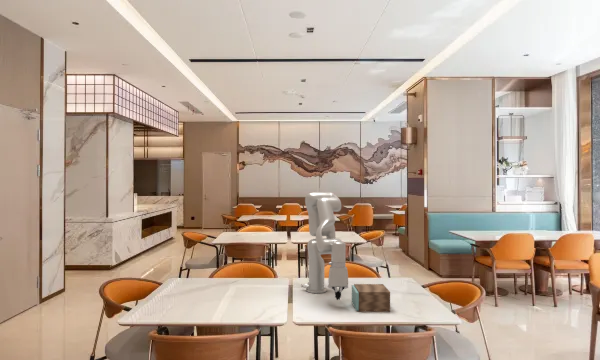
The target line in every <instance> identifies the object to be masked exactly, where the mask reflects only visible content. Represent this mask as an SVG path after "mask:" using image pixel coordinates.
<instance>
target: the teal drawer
mask: <svg viewBox="0 0 600 360" xmlns="http://www.w3.org/2000/svg"><path fill="white" fill-rule="evenodd" d="M351 303H352V305H353V307H354V309H355V311H356V312H359V293H358V291H357V289H356V288H355V286H354V284H351Z"/></svg>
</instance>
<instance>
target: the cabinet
mask: <svg viewBox="0 0 600 360" xmlns="http://www.w3.org/2000/svg"><path fill="white" fill-rule="evenodd" d="M353 285H354V286H355V288H356V289H357V291H358V293H359V311H358V312H359V313H360V312H362V313H363V312H365V313H366V312H368V313H370V312H371V313H372V312H375V313H376V312H377V313H379V312H381V313H382V312H384V313H385V312H389V313H390V312H391V291H390V290H389V289H388V288H387V287H386V285H384V284H383V283H354V284H353Z"/></svg>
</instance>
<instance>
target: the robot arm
mask: <svg viewBox="0 0 600 360" xmlns="http://www.w3.org/2000/svg"><path fill="white" fill-rule="evenodd" d="M304 203H305V207H306V211H307V214H308V230H309V231H308V232H309V234H310V236H311V237H315V238H313V239H309V240H308V242H307V253H308V282H307V283H301V285H300V286H301V288H303V289H304V288H305V291H306V292H308V293H311V294H325V293H326V292H328V289H331V290H333V291H334V298H335V300H337V301H341V300H340V299H341V298H342V292H343V291H344V290H345V289H349V274H348V273H349V272H348V267H347V266H346V259H347V258H346V246H347V245H346V244H347V243H346V242H345V241H342V239H340V238H336V227H335V223H336V219H335V215H334V212H335V213H336V212H338V213H339V212H340V211H341V210H342V201H341V199H340V198H339V197H338V195H336V194H335V193H333V192H331V191H314V192H309V193H307V194H305V198H304ZM324 237H326V238H324ZM322 255H330V256H331V260H330V262H328V265H329V271H328V286H327V287H328V289H327V287H325V265H326V264H325V260H324V259H323V257H322Z"/></svg>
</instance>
